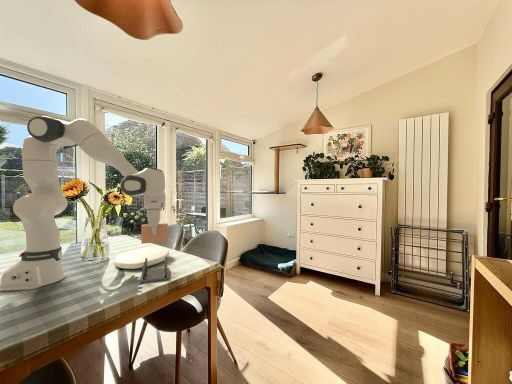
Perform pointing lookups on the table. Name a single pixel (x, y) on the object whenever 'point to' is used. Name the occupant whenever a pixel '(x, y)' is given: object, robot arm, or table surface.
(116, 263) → the plate
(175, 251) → the table surface
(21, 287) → the robot arm
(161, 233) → the tile
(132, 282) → the table surface
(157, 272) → the rack
